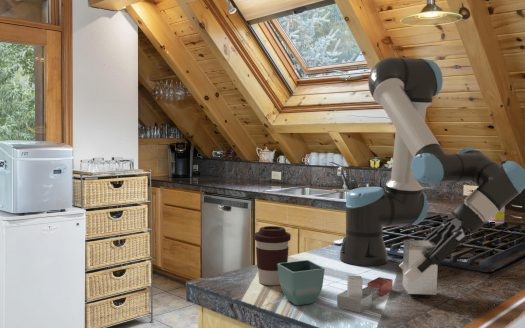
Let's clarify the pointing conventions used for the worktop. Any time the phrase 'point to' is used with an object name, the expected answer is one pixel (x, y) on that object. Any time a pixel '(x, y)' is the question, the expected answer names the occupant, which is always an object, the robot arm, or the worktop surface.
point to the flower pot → (301, 281)
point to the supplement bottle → (498, 217)
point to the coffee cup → (271, 252)
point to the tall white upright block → (410, 257)
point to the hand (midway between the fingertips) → (405, 273)
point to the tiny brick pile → (362, 293)
